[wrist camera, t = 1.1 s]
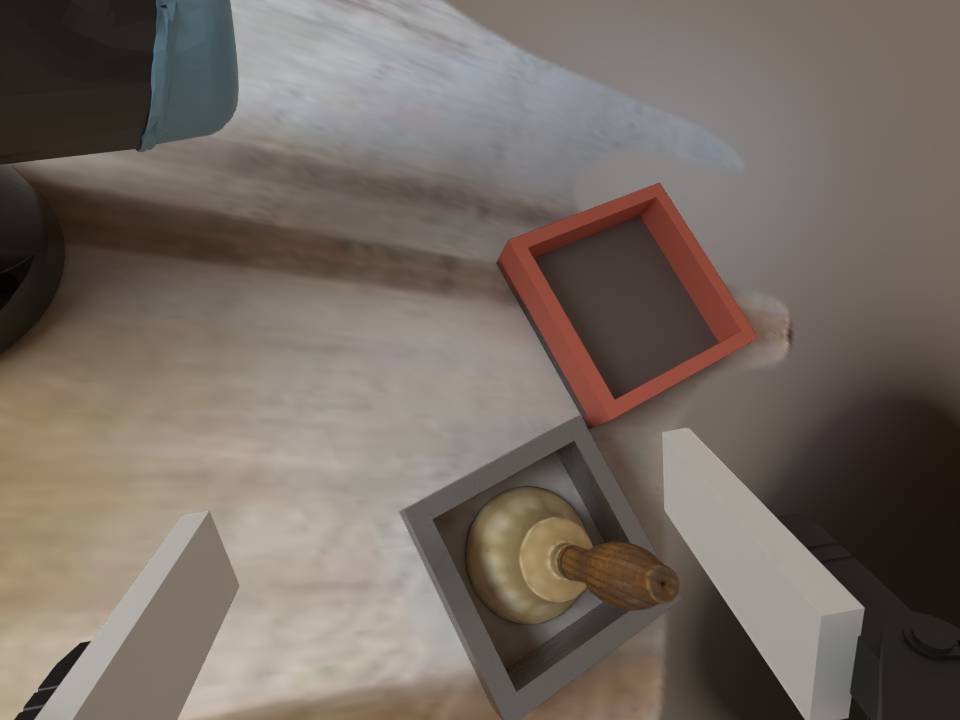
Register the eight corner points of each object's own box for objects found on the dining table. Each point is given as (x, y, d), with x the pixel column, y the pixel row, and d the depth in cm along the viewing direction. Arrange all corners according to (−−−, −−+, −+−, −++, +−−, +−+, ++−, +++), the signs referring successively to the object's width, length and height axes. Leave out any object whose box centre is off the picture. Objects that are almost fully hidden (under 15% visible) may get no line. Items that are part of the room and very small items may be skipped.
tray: (496, 262, 39) (508, 240, 36) (637, 207, 44) (659, 182, 41) (589, 429, 37) (610, 420, 34) (728, 352, 42) (758, 337, 38)
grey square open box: (399, 511, 33) (403, 510, 29) (560, 425, 37) (579, 415, 33) (492, 706, 31) (508, 728, 27) (651, 591, 35) (682, 599, 31)
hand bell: (606, 597, 34) (800, 655, 19) (486, 644, 32) (603, 752, 17) (565, 472, 36) (713, 435, 21) (450, 507, 33) (524, 494, 19)
